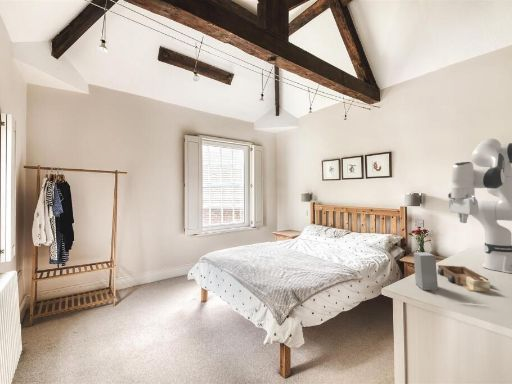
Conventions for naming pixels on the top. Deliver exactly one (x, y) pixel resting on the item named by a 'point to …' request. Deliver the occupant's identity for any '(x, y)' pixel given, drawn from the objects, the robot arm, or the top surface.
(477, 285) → the block
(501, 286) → the top surface
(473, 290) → the tailgate
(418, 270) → the skincare box
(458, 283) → the cart bed
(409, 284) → the top surface
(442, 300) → the top surface
